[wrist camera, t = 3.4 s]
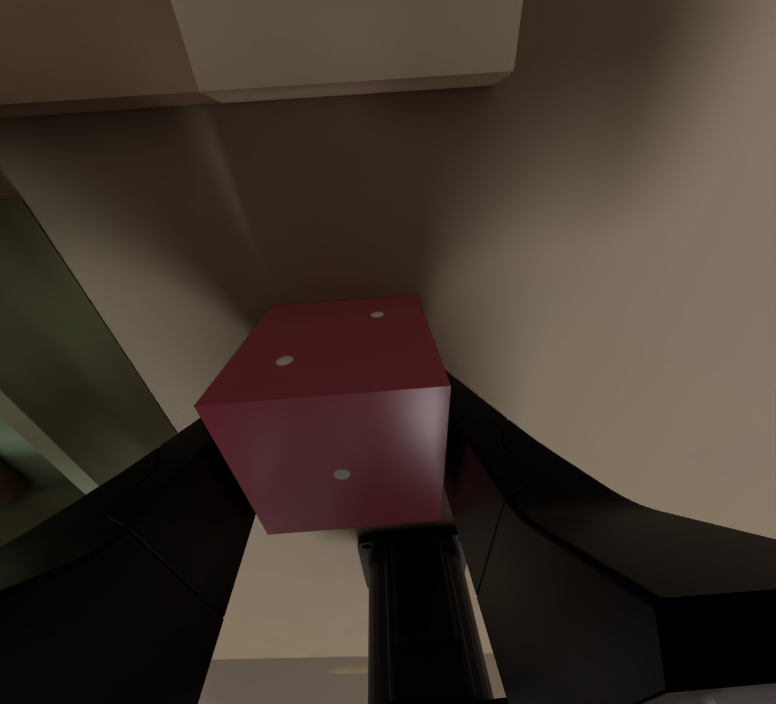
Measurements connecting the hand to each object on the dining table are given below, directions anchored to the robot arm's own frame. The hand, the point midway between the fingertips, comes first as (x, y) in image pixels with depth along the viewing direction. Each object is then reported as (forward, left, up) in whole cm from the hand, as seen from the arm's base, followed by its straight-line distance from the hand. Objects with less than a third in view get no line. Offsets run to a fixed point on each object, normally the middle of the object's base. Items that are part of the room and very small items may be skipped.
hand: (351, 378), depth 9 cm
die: (0, 0, -1) cm, 1 cm away
